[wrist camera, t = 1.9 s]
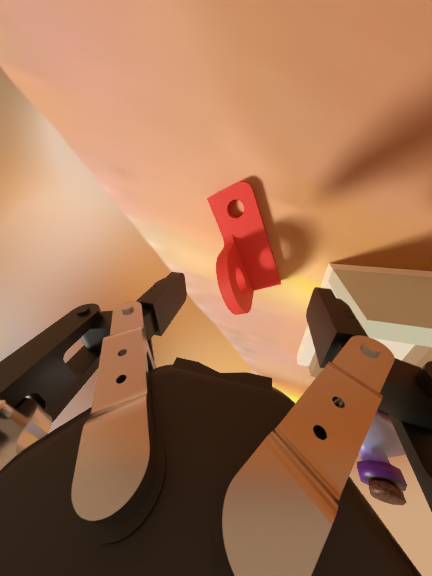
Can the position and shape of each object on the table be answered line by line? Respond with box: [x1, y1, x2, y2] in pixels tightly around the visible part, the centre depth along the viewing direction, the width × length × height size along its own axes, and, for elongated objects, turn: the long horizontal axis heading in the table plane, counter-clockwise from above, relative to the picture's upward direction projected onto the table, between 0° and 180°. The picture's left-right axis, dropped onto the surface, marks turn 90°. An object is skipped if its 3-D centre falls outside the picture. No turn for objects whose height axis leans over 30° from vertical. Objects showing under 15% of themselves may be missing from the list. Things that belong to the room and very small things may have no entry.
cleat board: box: [297, 263, 432, 377], centre depth 18 cm, size 14×16×10 cm
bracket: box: [207, 182, 281, 315], centre depth 17 cm, size 12×4×8 cm, turn 25°
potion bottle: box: [357, 409, 407, 505], centre depth 24 cm, size 9×9×12 cm
